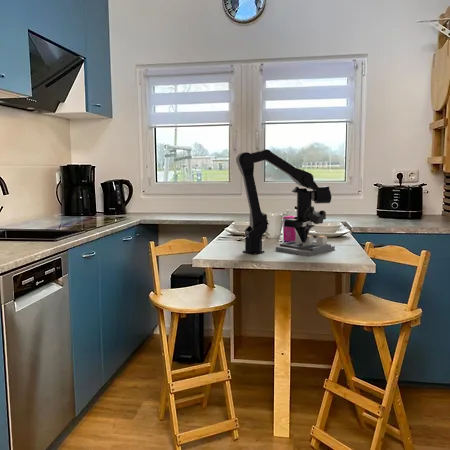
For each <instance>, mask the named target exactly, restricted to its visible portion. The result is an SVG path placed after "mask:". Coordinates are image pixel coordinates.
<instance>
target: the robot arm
mask: <svg viewBox="0 0 450 450" xmlns="http://www.w3.org/2000/svg"><path fill="white" fill-rule="evenodd" d="M262 161H263V162H264V161H266V162H267V163H269V164H270V165H272V166H273V167H274V168H276V169H277V170H279V171H281V172H283V173H284V174H286V175H287V176H289V177H290V179H291V180H292V181H293V182H294V183H295V184H296V185H297V186H295V187H294V188H293V189H292V190H291V193H294V194H296V205H295V206H294V210H296V215H295V216H296V217H295V219H286V220H285V221H284V226H285V227H294V228H295V229H296V231H297V233H298V235H299V237H300V239H301V241H302V243H305V242H306V239H307V236H308V235H309V233H310V231H311V230H312V228H314V227H315V225H320V224H324V220H326V219H327V217H326V216H327V215H326V213H327V212H326V210H318V211H316V210H315V206H314V205H313V206H312V202H313V203H314V204H317V205H318V204H330V203H331V202H332V194H331V189H330V186H327V185H325V186H318V185H317V183H316V182H315V179H314V174H312V173H310V172H308V171H306V170H304V169H301V168H298V167H296V166H293V165H292V164H291V163H289V162H288V161H286V160H285V159H283V158H281V157H280V156H279V155H278V154H277V155H276V153H273V152H272V151H271V150H270V149H268V148H267V149H262V150H258V151H255V152H252V153H250V152H248V151H246V152H241V153H239V154H237V155H236V158H235V162H236V164H237V167H238V170H239V172H240V174H241V176H242V178H243V179H242V180H243V183H244V187H245V188H244V189H245V192H246V193H245V194H246V197H247V204H248V207H249V225H248V227H246V228H245V229H244V234H245V237H244V239H245V240H244V241H245V242H244V243H245V245H244V246H245V249H244V250H242V253H245V254H251V255H257V254H262V253H266V252H265V250H263V239H262V238H263V236H264V234H265V233H266V232H267V230H268V225H270V224H269V223H270V222H268V216H267V214H266V213H264V212H263V211H262V210H261V206H260V201H259V195H258V190H257V187H256V181H255V175H254V173H255V172H254V171H255V164H256V163H258V162H262ZM299 187H301V188H299ZM302 187H303V188H302ZM308 189H309V190H308Z"/></svg>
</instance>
